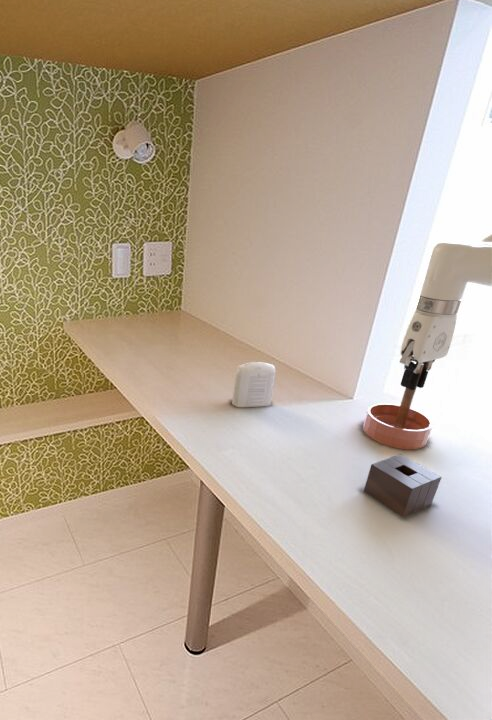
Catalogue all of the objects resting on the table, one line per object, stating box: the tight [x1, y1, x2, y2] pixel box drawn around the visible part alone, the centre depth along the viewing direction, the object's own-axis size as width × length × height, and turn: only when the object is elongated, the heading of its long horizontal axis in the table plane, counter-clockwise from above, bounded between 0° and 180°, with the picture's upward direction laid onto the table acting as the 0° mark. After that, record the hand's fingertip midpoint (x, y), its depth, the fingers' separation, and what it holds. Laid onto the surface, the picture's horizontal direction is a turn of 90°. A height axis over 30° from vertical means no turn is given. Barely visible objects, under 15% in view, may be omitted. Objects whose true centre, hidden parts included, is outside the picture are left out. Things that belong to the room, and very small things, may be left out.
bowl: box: [362, 403, 434, 450], centre depth 101 cm, size 13×13×6 cm
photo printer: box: [231, 361, 276, 408], centre depth 113 cm, size 10×4×12 cm, turn 98°
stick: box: [393, 361, 424, 429], centre depth 98 cm, size 2×2×16 cm
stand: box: [363, 453, 442, 518], centre depth 79 cm, size 8×8×7 cm
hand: (411, 386), depth 97 cm, fingers closed on stick, 2 cm apart
